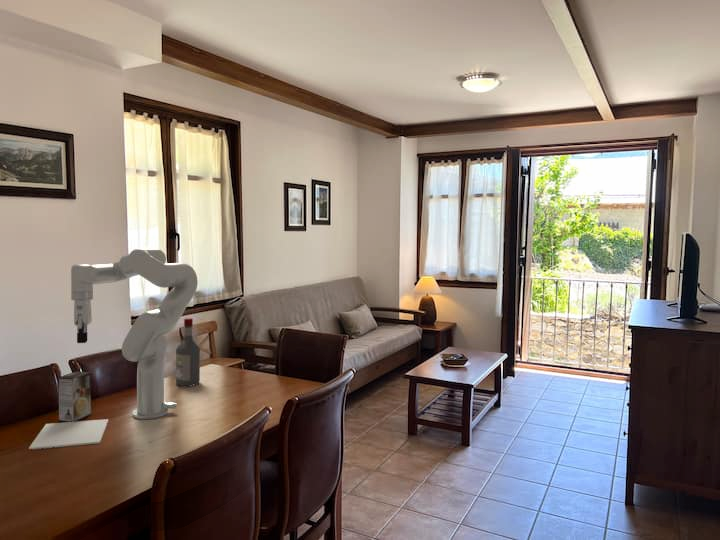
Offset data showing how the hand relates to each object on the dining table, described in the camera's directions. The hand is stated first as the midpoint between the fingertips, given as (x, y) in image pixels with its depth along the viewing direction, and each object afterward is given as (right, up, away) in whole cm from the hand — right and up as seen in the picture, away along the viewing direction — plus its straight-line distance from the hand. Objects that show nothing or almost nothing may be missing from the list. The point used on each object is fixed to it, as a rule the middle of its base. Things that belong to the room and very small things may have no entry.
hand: (82, 342), depth 206 cm
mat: (+12, -27, -29) cm, 42 cm away
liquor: (+30, -24, +35) cm, 52 cm away
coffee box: (+4, -26, -13) cm, 29 cm away
